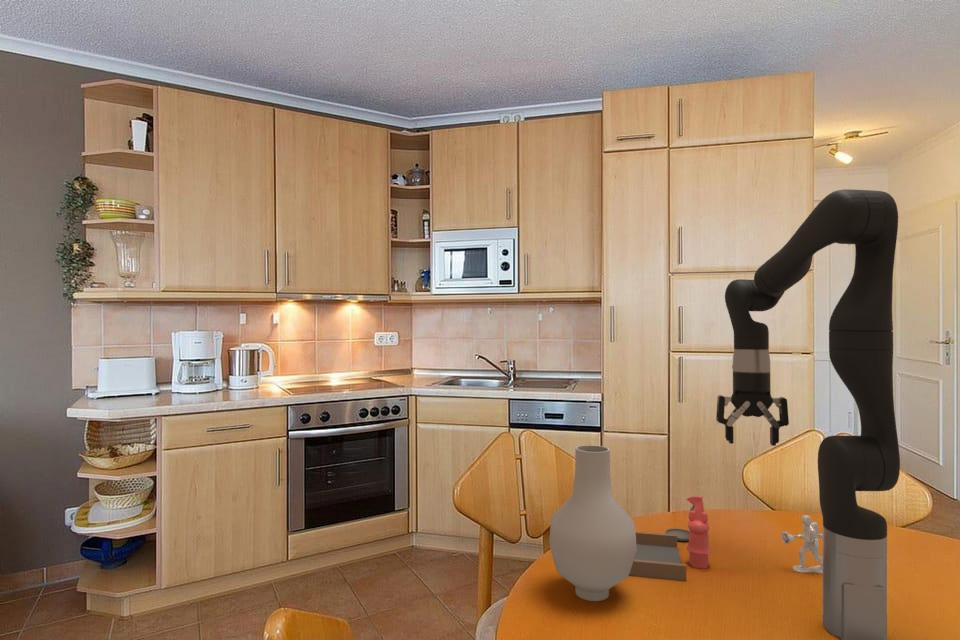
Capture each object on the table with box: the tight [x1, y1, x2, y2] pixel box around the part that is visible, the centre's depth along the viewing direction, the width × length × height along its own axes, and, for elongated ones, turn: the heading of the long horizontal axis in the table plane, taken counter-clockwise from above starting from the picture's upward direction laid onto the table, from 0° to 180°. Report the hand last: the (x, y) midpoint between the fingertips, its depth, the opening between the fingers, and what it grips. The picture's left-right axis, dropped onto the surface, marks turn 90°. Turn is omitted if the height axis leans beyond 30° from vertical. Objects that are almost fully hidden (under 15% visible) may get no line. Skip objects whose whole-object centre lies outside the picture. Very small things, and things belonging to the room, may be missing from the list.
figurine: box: [780, 514, 823, 575], centre depth 124 cm, size 5×9×12 cm, turn 99°
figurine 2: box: [685, 495, 712, 569], centre depth 127 cm, size 5×5×15 cm
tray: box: [629, 531, 687, 582], centre depth 129 cm, size 18×18×3 cm
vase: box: [548, 444, 637, 602], centre depth 113 cm, size 17×16×28 cm
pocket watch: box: [664, 504, 695, 542], centre depth 142 cm, size 8×8×10 cm
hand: (751, 444), depth 128 cm, fingers open, 8 cm apart
